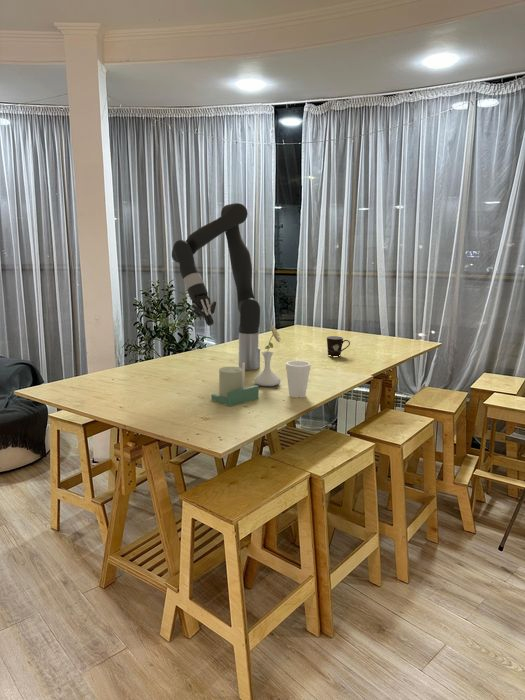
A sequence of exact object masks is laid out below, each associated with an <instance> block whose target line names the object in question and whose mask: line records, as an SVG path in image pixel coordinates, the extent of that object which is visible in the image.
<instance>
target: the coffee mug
mask: <svg viewBox="0 0 525 700" xmlns="http://www.w3.org/2000/svg"><path fill="white" fill-rule="evenodd" d="M345 342H348V345H347V346H346V347H344V348H343V344H344V343H345ZM326 343H327V344H326V345H327V346H326V347H327V356H328V355H331V356H339V355H340V356H341V354H342V352H343V351H345V350H346V349H347V348H348V347H349V346H350V344H351V341H349V339H344V336H339V335H338V336H337V335H331V336H326Z"/></svg>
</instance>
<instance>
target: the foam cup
mask: <svg viewBox="0 0 525 700" xmlns="http://www.w3.org/2000/svg"><path fill="white" fill-rule="evenodd" d="M311 366H312V365H311V362H309V361H306V360H289V361H287V362H285V370H286V376H287V377H286V379H287V387H288V394H289V395H290V396H292V397H291V398H293V397H303V398H305V397H306V396H307V395H306V394H307V389H308V381H309V376H310V371H311ZM289 395H288V396H289ZM290 396H289V397H290ZM304 396H305V397H304Z"/></svg>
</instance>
